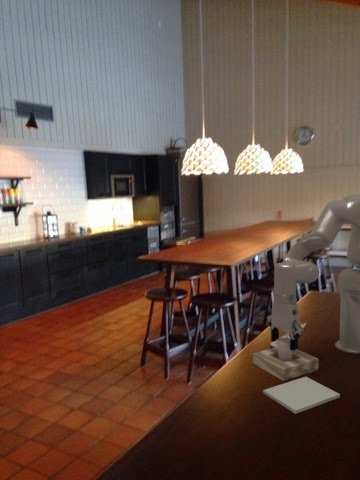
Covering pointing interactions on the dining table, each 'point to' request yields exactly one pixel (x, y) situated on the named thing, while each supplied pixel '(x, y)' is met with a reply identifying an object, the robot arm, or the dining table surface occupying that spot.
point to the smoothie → (284, 349)
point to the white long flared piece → (284, 337)
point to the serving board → (301, 394)
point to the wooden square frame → (285, 363)
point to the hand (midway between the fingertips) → (284, 345)
